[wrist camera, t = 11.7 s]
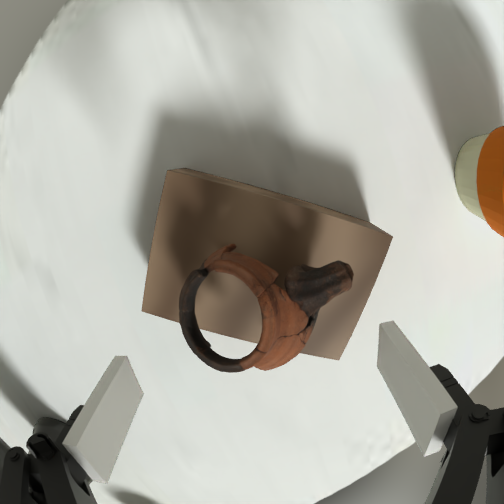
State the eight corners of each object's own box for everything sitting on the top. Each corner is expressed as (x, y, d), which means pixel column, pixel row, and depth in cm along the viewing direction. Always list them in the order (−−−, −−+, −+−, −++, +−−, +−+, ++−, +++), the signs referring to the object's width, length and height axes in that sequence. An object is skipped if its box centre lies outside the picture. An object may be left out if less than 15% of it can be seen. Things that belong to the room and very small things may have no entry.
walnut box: (161, 284, 31) (141, 311, 25) (185, 167, 27) (167, 170, 21) (326, 327, 32) (338, 360, 26) (368, 221, 28) (392, 236, 22)
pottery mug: (260, 363, 27) (206, 401, 19) (214, 272, 29) (149, 282, 21) (383, 306, 21) (369, 339, 14) (323, 199, 23) (282, 180, 16)
